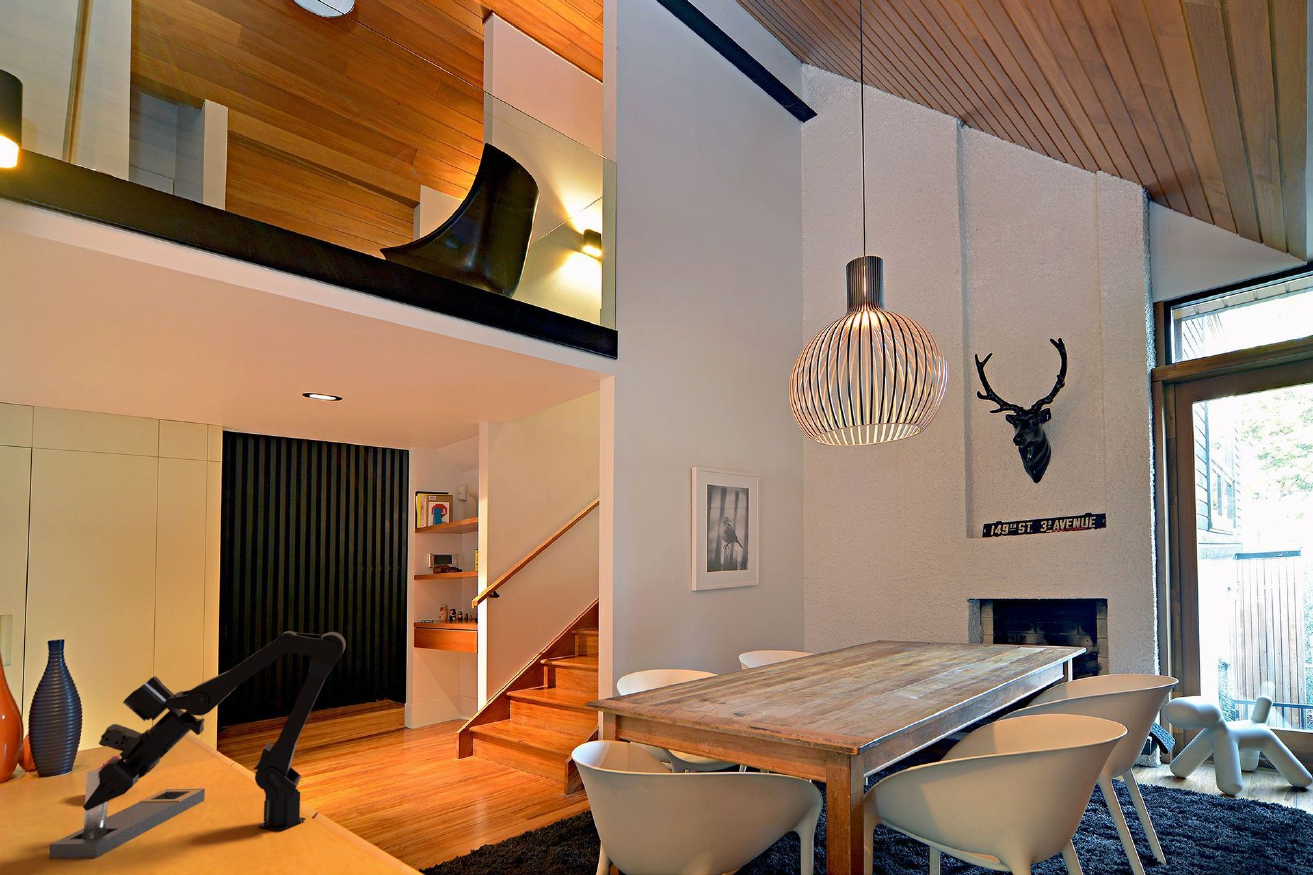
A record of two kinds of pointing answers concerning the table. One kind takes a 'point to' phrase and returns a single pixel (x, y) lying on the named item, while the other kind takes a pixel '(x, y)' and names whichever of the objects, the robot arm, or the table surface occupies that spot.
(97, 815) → the peg
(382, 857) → the table surface
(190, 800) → the rail
